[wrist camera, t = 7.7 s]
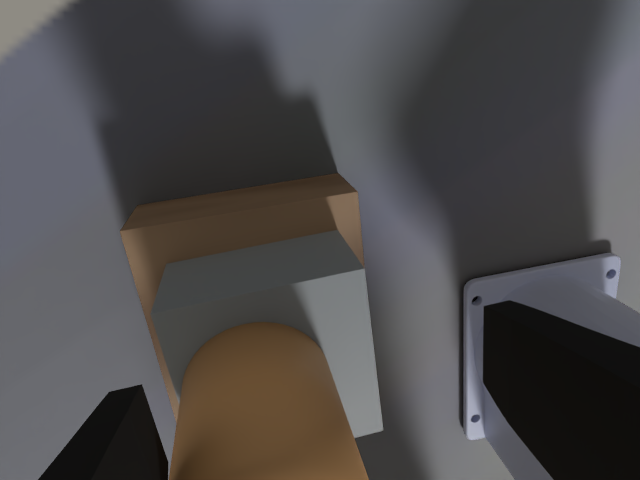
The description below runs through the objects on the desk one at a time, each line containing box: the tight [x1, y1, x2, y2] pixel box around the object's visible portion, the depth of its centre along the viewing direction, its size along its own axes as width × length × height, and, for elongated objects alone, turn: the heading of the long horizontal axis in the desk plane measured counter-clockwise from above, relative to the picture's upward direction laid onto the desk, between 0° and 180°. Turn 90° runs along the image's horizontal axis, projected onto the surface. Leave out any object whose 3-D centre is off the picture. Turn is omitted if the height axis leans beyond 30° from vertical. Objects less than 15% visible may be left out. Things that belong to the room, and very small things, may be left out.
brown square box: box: [120, 173, 364, 423], centre depth 19 cm, size 8×8×4 cm
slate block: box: [150, 230, 383, 438], centre depth 15 cm, size 6×6×4 cm
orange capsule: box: [169, 322, 369, 480], centre depth 12 cm, size 4×4×5 cm
